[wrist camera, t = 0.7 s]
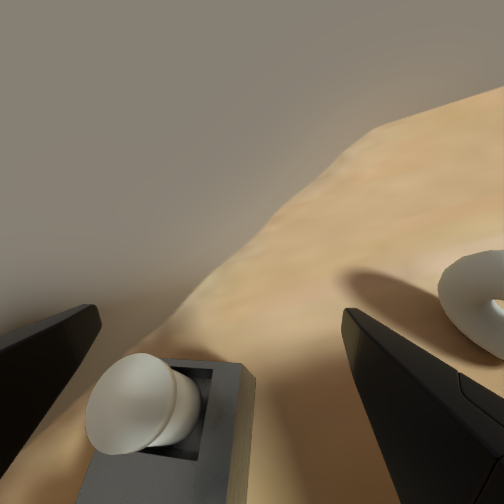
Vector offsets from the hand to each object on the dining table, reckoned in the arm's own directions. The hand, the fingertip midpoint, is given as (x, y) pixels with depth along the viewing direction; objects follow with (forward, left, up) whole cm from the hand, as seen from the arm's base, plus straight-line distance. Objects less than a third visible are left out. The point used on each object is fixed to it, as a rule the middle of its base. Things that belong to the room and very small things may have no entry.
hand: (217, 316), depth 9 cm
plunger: (-3, +6, -11) cm, 12 cm away
